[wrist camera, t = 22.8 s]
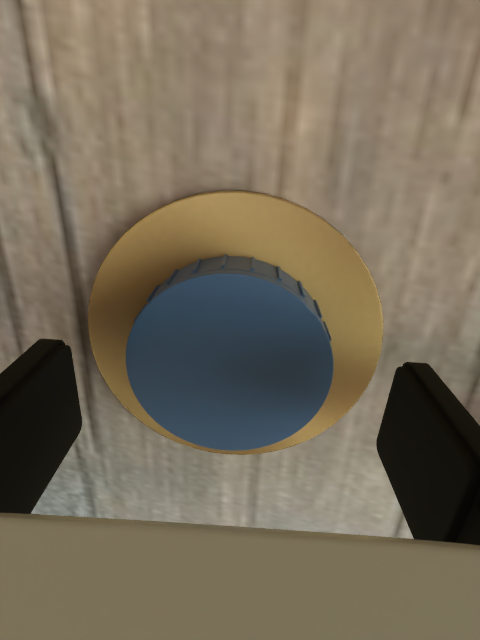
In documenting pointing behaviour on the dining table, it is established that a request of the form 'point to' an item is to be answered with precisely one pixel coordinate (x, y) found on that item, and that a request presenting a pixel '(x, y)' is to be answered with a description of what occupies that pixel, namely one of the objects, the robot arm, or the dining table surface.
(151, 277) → the coaster
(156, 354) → the lid
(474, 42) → the dining table surface
